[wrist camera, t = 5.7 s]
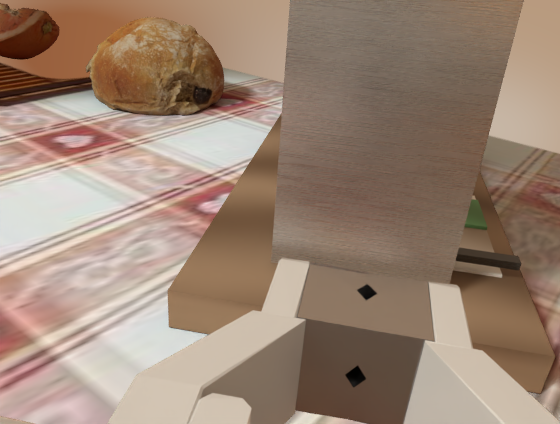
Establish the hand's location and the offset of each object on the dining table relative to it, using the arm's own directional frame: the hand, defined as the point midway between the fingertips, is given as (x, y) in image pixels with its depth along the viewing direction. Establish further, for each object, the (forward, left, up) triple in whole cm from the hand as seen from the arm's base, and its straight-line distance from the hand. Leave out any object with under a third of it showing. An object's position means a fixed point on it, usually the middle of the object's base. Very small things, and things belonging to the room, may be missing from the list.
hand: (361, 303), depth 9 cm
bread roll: (-32, +16, -7) cm, 37 cm away
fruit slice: (-50, +12, -7) cm, 51 cm away
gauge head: (-5, +10, -5) cm, 12 cm away
